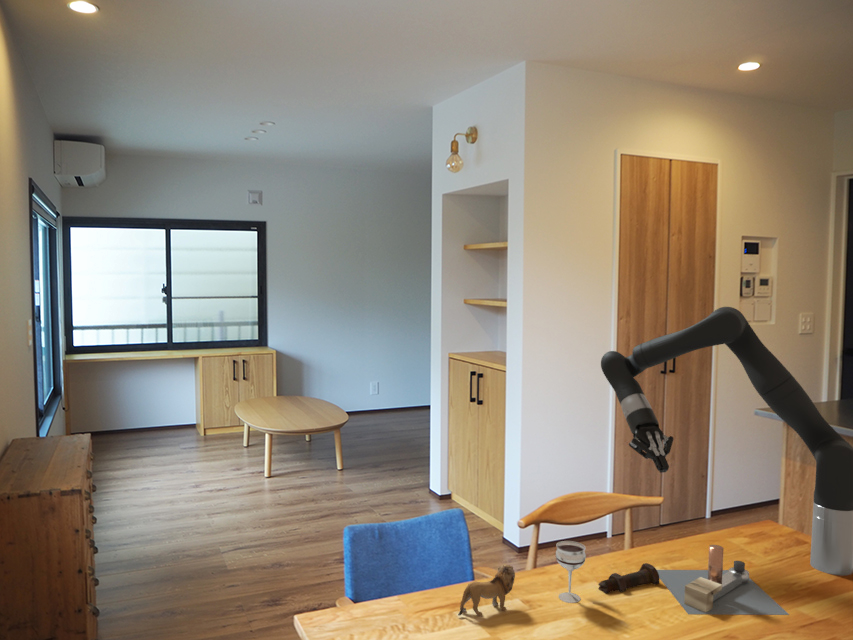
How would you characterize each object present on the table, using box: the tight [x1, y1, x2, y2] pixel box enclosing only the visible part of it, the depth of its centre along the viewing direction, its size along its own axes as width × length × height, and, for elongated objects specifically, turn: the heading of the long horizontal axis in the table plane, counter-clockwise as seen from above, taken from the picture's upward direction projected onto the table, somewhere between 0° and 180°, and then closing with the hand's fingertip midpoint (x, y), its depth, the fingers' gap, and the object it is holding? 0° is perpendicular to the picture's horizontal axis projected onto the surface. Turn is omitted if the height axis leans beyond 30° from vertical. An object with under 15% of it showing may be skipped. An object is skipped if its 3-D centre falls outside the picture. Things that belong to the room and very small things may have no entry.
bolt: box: [597, 562, 660, 594], centre depth 160 cm, size 6×5×15 cm
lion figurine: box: [458, 563, 516, 617], centre depth 149 cm, size 15×5×9 cm, turn 121°
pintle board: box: [656, 560, 790, 616], centre depth 157 cm, size 22×22×6 cm
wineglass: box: [555, 540, 587, 604], centre depth 155 cm, size 7×7×12 cm
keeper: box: [684, 577, 722, 612], centre depth 151 cm, size 7×5×4 cm
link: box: [707, 544, 750, 601], centre depth 158 cm, size 18×4×11 cm, turn 130°
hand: (664, 471), depth 174 cm, fingers closed
